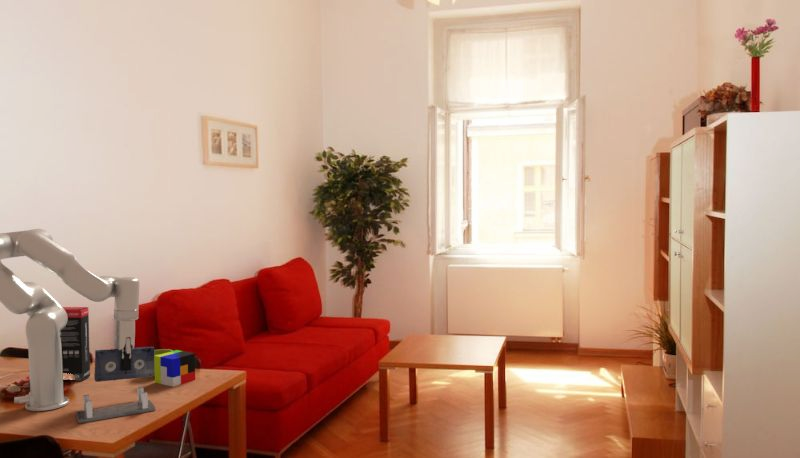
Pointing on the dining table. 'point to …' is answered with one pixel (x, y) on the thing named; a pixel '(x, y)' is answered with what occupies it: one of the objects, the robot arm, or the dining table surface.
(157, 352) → the plant pot
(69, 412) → the dining table surface
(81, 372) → the graphics card box
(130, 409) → the rack
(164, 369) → the puzzle toy
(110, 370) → the vhs cassette tape
